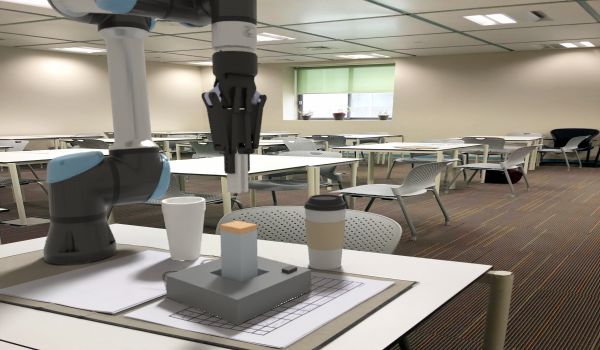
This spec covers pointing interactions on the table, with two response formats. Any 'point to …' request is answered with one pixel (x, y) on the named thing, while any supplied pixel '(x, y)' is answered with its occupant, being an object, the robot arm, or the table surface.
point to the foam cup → (184, 226)
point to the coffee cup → (325, 230)
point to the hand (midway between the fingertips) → (237, 191)
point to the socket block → (238, 289)
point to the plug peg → (239, 251)
